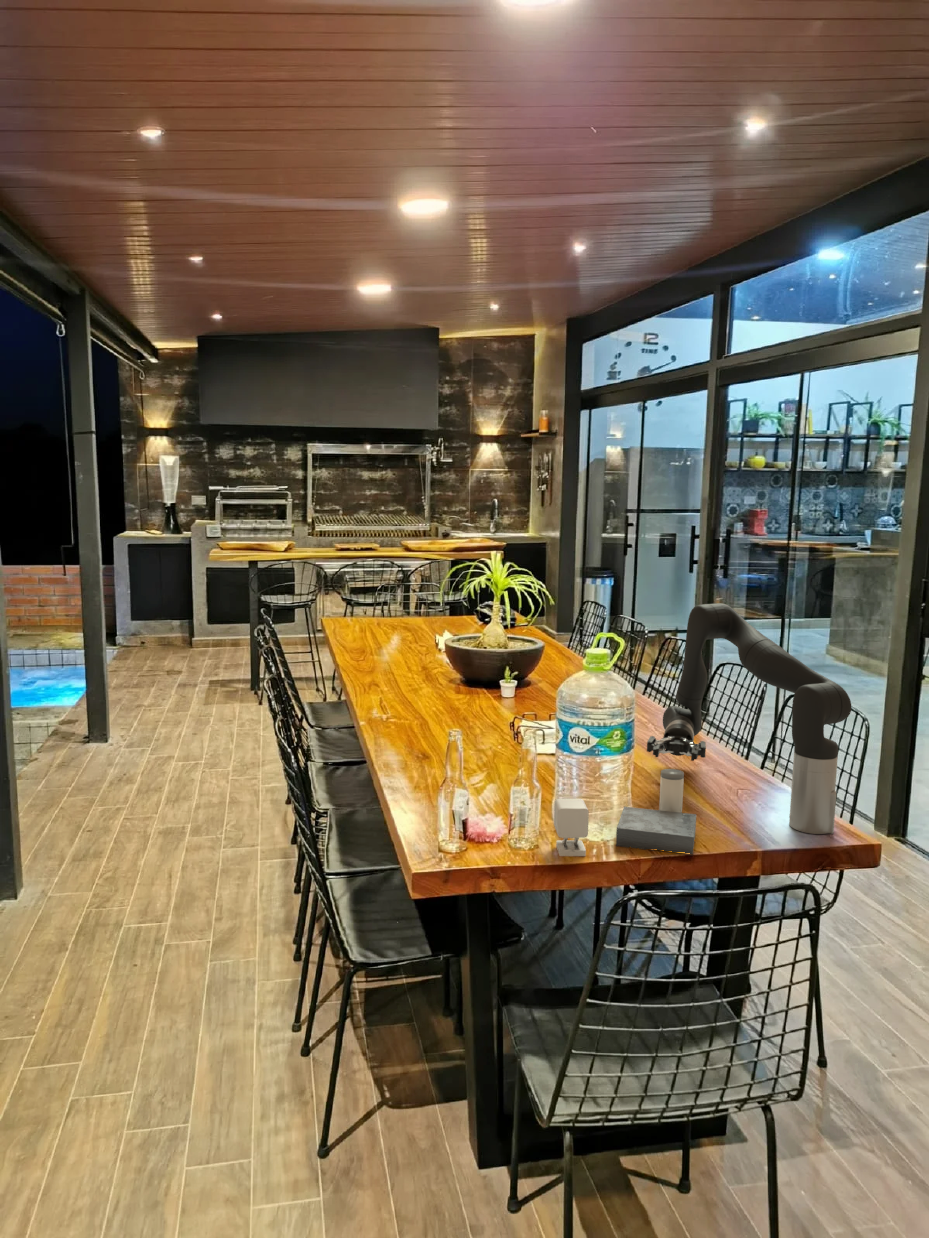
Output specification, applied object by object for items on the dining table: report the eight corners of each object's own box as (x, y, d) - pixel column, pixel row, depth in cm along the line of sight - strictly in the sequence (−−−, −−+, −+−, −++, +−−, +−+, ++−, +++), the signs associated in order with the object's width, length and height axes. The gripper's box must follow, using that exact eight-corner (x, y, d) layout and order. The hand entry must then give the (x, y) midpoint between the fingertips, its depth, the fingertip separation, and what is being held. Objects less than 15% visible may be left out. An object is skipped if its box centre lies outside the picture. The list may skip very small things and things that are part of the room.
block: (695, 831, 207) (696, 814, 206) (692, 855, 193) (693, 836, 193) (623, 823, 211) (624, 806, 210) (616, 845, 198) (616, 827, 197)
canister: (682, 815, 217) (684, 770, 215) (681, 823, 212) (683, 776, 210) (659, 812, 218) (661, 767, 216) (657, 820, 213) (660, 774, 212)
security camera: (582, 843, 199) (584, 798, 197) (587, 856, 192) (589, 809, 191) (553, 843, 199) (554, 798, 197) (557, 856, 192) (559, 809, 190)
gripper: (651, 720, 241) (645, 737, 226) (707, 725, 237) (706, 743, 222) (650, 748, 242) (644, 766, 227) (706, 753, 238) (704, 773, 223)
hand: (674, 755), depth 224 cm, fingers open, 8 cm apart
